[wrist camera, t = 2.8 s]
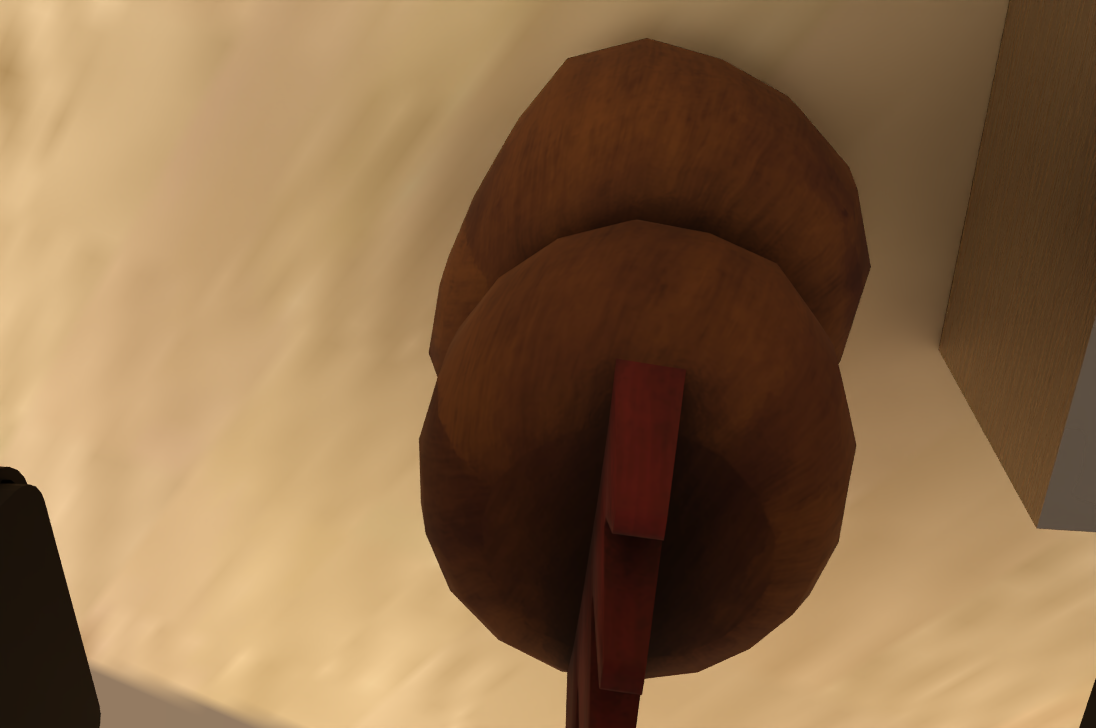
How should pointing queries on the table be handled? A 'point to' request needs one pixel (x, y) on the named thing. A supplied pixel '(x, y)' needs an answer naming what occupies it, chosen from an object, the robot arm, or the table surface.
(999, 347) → the box
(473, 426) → the wooden figurine
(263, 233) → the table surface
